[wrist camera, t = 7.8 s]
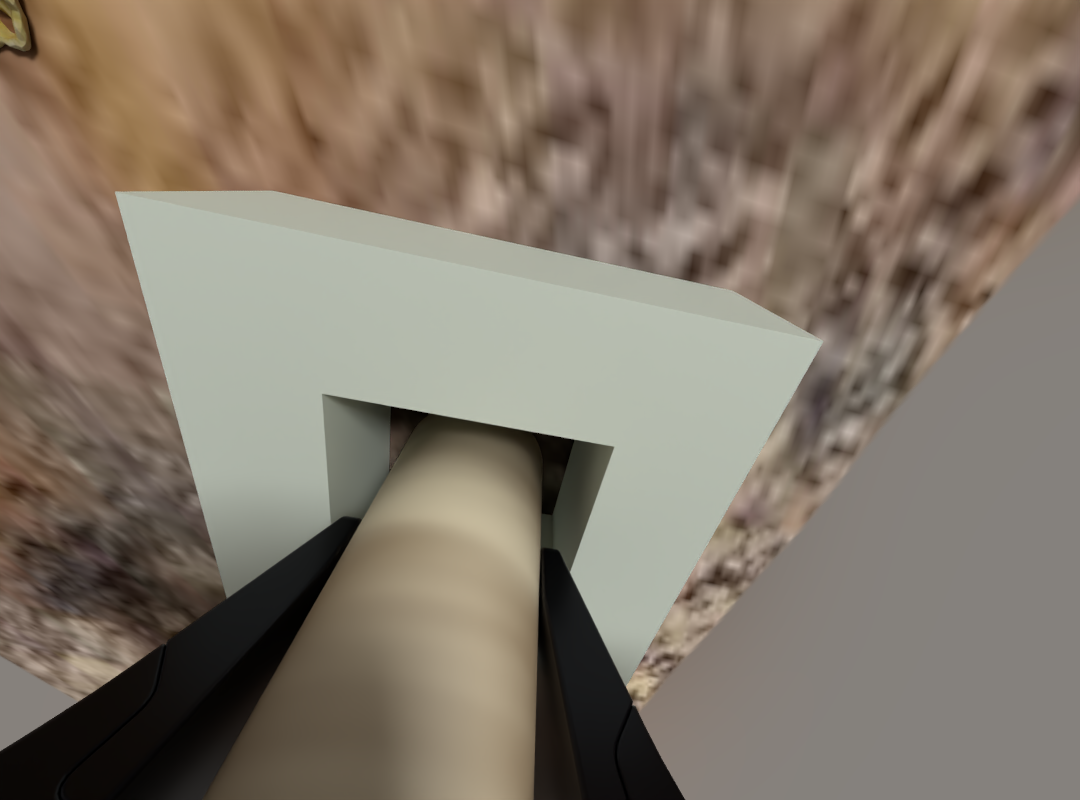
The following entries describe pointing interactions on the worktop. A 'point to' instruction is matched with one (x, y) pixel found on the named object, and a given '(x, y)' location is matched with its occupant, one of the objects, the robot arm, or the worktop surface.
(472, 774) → the peg
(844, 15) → the worktop surface
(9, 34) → the tongs
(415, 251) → the socket block
